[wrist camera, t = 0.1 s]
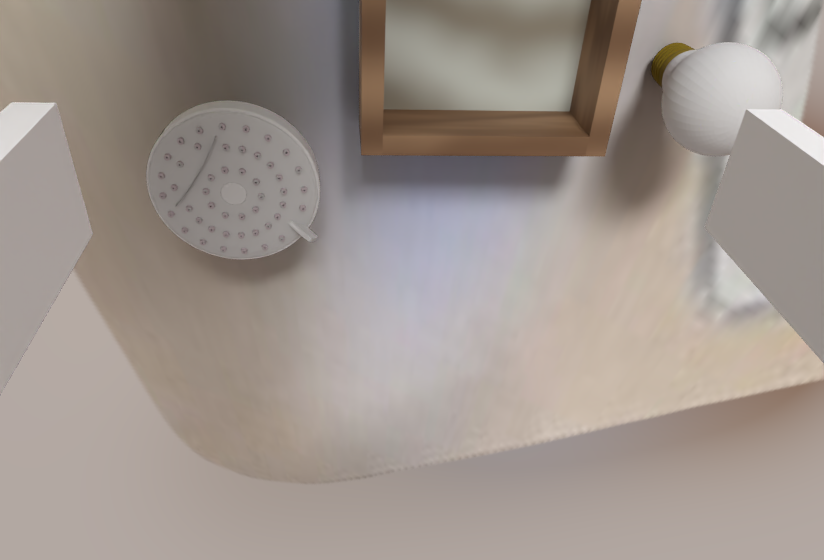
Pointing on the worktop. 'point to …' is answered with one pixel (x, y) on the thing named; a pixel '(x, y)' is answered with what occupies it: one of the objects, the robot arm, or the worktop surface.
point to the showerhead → (234, 180)
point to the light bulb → (713, 92)
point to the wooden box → (491, 75)
